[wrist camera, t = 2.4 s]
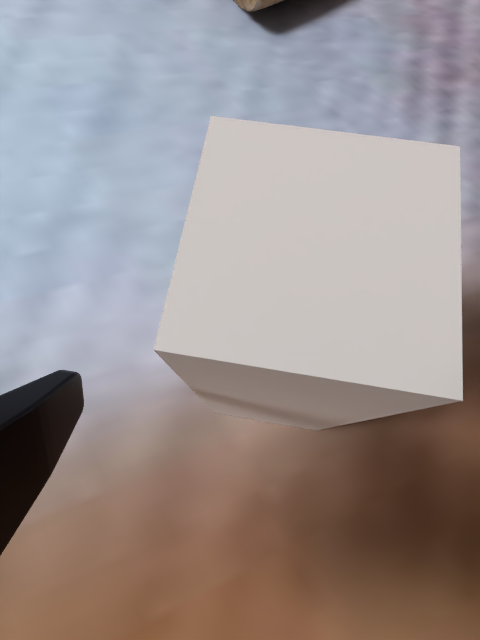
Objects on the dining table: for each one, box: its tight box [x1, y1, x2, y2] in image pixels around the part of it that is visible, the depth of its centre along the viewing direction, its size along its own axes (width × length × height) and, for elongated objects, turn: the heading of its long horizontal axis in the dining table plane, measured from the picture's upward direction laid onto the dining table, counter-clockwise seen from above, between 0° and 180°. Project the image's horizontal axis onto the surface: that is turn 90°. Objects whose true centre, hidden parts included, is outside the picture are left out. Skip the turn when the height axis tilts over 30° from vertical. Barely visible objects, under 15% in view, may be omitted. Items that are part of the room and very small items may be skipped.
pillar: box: [154, 116, 463, 430], centre depth 12 cm, size 5×5×12 cm
